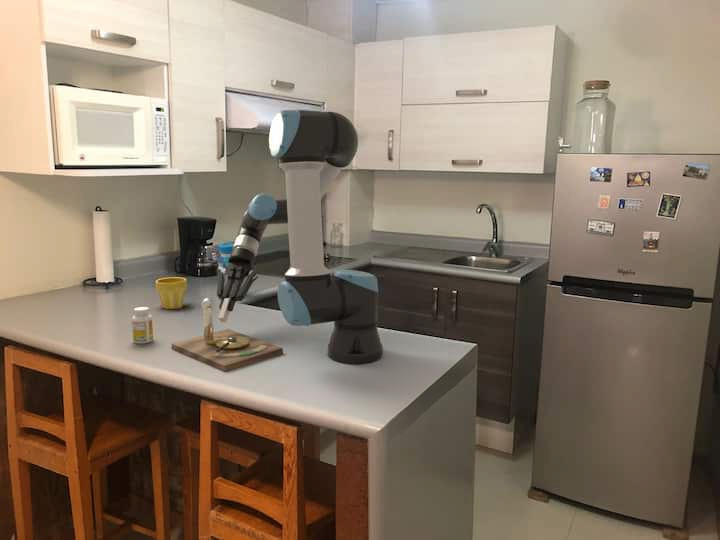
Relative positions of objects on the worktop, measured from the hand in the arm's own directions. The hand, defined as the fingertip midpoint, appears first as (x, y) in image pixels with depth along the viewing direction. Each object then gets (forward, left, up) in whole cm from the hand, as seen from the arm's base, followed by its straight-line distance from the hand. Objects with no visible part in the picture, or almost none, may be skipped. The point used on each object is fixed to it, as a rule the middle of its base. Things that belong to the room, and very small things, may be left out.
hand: (222, 319), depth 168 cm
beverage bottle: (+43, -33, -7) cm, 54 cm away
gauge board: (-8, +4, -6) cm, 11 cm away
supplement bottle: (+17, +16, -7) cm, 24 cm away
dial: (-7, +5, -5) cm, 10 cm away
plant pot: (+45, -10, -7) cm, 46 cm away
